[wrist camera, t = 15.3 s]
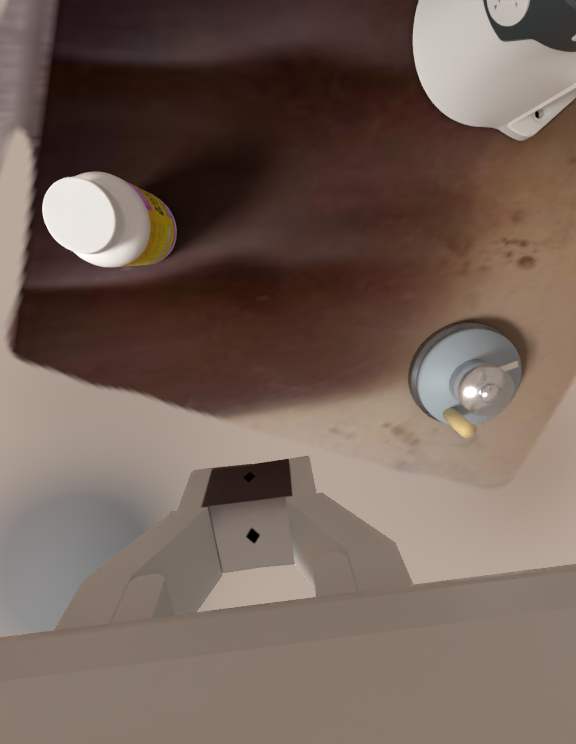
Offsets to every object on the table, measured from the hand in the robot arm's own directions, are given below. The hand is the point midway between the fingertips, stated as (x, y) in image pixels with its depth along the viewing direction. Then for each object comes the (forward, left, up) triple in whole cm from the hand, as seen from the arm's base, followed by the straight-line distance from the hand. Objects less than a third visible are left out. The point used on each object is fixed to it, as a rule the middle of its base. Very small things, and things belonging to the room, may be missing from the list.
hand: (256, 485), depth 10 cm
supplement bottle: (+6, -13, -31) cm, 34 cm away
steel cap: (-15, +18, -29) cm, 37 cm away
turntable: (-15, +18, -30) cm, 38 cm away
